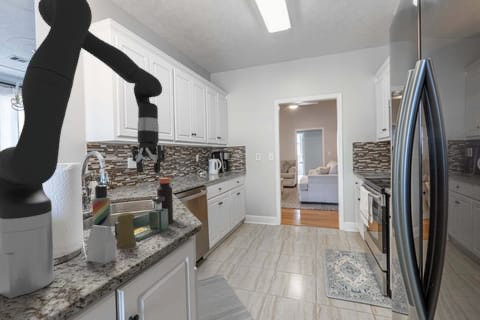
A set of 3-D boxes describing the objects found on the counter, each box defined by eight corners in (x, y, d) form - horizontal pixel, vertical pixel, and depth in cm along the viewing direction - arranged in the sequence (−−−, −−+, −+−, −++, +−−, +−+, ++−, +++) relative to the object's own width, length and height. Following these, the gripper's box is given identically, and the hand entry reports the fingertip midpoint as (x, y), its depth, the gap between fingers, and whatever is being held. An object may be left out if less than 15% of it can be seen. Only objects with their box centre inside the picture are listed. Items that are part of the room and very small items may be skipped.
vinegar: (157, 223, 104) (156, 179, 104) (158, 219, 111) (157, 177, 110) (172, 222, 106) (171, 178, 105) (173, 218, 113) (172, 177, 112)
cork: (128, 248, 76) (127, 215, 76) (112, 247, 77) (111, 214, 77) (139, 241, 82) (139, 211, 82) (124, 240, 83) (124, 210, 83)
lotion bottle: (95, 236, 88) (94, 184, 88) (112, 234, 90) (111, 183, 90) (91, 241, 83) (89, 186, 82) (109, 239, 85) (107, 185, 84)
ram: (159, 219, 92) (158, 199, 92) (150, 218, 94) (149, 198, 94) (167, 216, 97) (166, 196, 97) (158, 215, 99) (158, 196, 99)
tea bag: (105, 264, 66) (104, 229, 65) (87, 260, 68) (86, 227, 67) (115, 258, 69) (114, 225, 69) (99, 255, 71) (98, 223, 71)
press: (138, 241, 83) (138, 218, 83) (115, 236, 88) (114, 215, 88) (169, 227, 97) (169, 209, 97) (147, 224, 102) (147, 206, 102)
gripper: (126, 130, 88) (126, 172, 88) (155, 128, 83) (155, 173, 83) (142, 132, 95) (142, 172, 95) (169, 130, 89) (169, 172, 89)
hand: (148, 172), depth 89 cm, fingers open, 8 cm apart
